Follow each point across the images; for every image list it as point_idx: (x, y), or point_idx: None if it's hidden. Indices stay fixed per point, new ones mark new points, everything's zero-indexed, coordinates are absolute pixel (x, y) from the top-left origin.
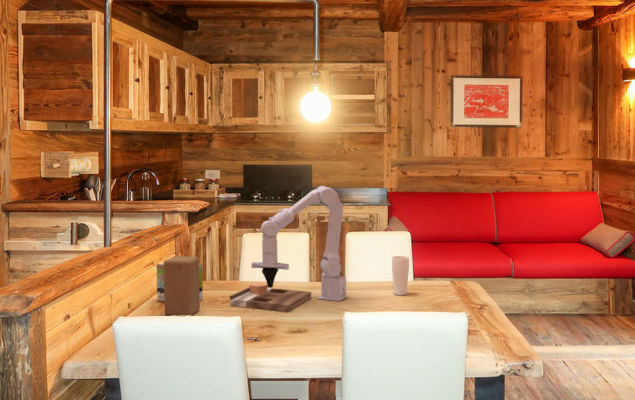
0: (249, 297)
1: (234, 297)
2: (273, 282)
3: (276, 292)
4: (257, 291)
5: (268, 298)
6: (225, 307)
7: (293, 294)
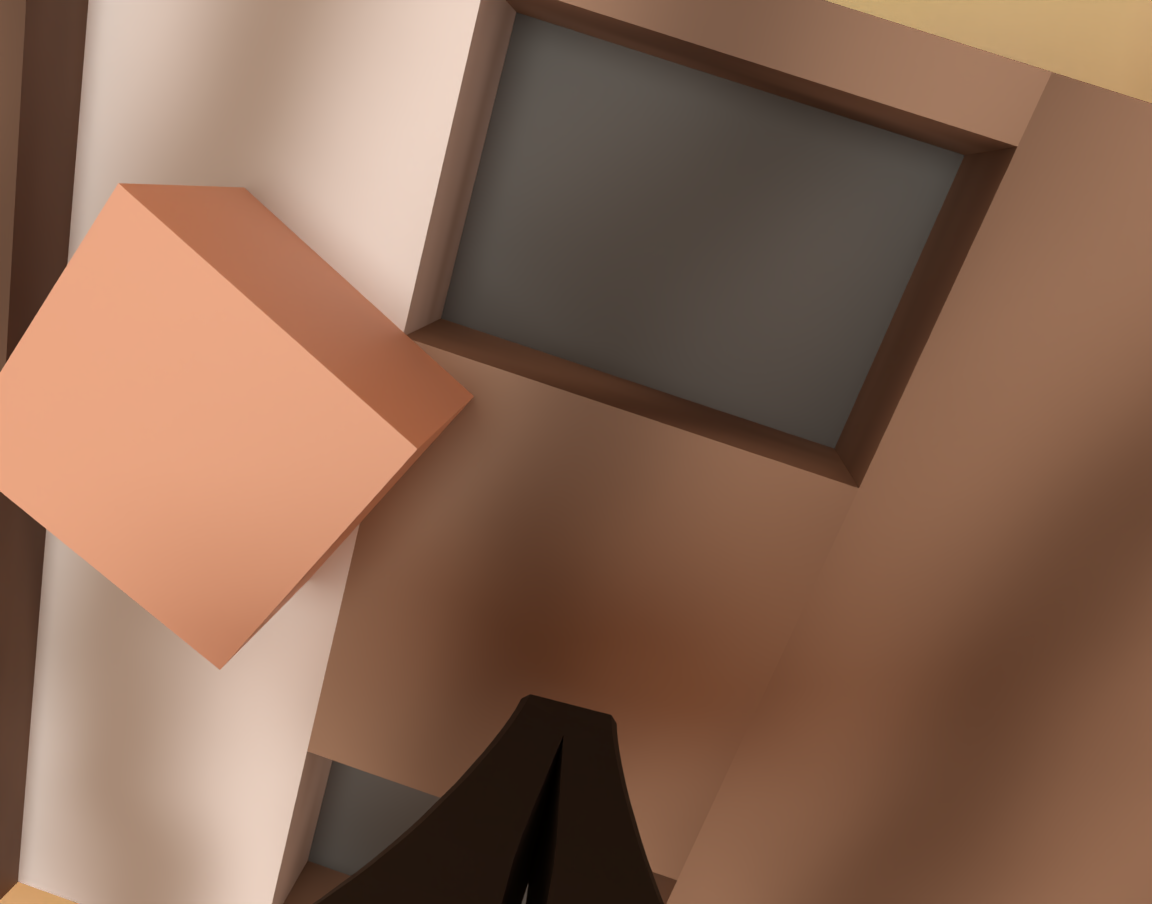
0: (233, 778)
1: (9, 839)
2: (623, 793)
3: (646, 41)
4: (279, 609)
5: None
6: None
7: (1109, 565)
